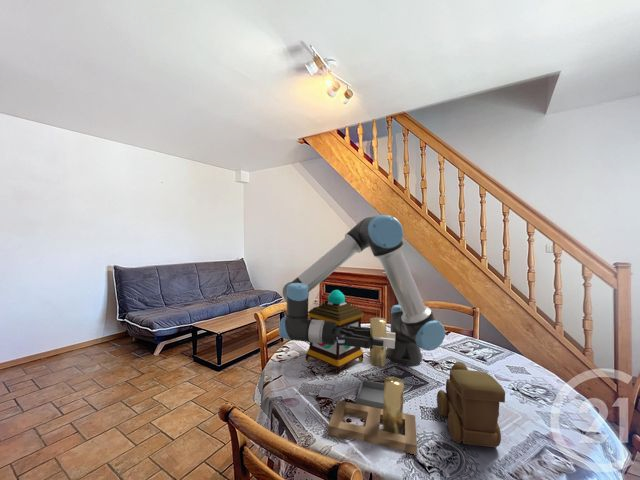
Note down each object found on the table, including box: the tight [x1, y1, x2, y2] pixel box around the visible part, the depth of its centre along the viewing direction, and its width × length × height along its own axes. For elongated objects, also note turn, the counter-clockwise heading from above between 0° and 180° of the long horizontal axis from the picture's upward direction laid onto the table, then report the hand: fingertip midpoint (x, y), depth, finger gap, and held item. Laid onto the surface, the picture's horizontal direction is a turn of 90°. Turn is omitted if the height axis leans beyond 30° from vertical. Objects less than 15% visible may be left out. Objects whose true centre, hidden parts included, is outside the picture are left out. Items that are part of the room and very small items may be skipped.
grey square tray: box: [355, 379, 384, 409], centre depth 90 cm, size 12×12×2 cm
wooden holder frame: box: [327, 399, 418, 456], centre depth 76 cm, size 22×12×2 cm, turn 74°
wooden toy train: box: [436, 361, 506, 448], centre depth 77 cm, size 20×11×17 cm, turn 173°
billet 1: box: [369, 316, 387, 368], centre depth 90 cm, size 5×5×14 cm
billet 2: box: [381, 376, 405, 435], centre depth 74 cm, size 5×5×14 cm
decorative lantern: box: [305, 289, 365, 375], centre depth 117 cm, size 20×20×30 cm
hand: (394, 340), depth 88 cm, fingers closed on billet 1, 5 cm apart
